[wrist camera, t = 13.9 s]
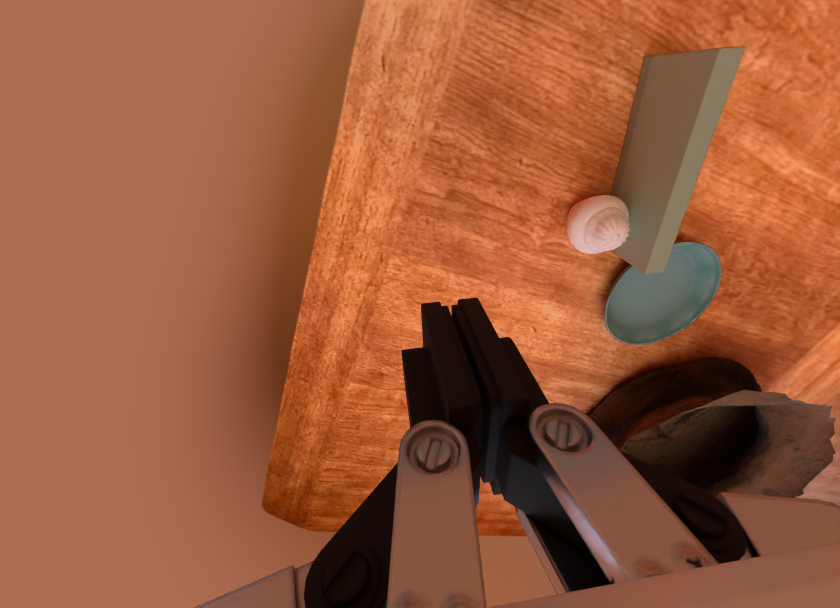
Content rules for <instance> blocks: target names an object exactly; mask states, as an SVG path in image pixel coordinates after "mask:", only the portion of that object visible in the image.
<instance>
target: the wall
mask: <svg viewBox="0 0 840 608" xmlns="http://www.w3.org/2000/svg"><path fill="white" fill-rule="evenodd" d="M744 49H745V47H725V48H714V49H706V50H697V51H689V52H680V53H672V54H664V55H655V56H647V57H644V61H643V65H642V69H641V73H640V78H639V82H638V86H637V90H636V94H635V98H634V102H633V106H632V111H631V115H630V119H629V123H628V127H627V131H626V135H625V139H624V144H623V148H622V152H621V156H620V160H619V164H618V168H617V172H616V177H615V181H614V185H613V189H612V193H611V196H615V197H618V198H619V199H621V200H622V201H623V202H624V203H625V204H626V206H627V208H628V211H629V221H628V222H629V223H630V225H629V228H630V231H629V232H628V234H629V236H628V237H626V241H625V242H623V243H622V245H621V246H620V247H617V248H616V249H614V250H610V251H611V252H613V253H614V254H616V255H617V256H619V257H620V258H622V259H623V260H625V261H626V262H628V263H629V264H631V265H632V266H634V267H635V268H637V269H638V270H640V271H641V272H643V273H644V274H650V273H659V272H664V269H665V267H666V264H667V261H668V258H669V256H670V253H671V250H672V247H673V245H674V242H675V239H676V236H677V234H678V231H679V228H680V225H681V223H682V220H683V217H684V214H685V212H686V209H687V206H688V203H689V201H690V198H691V195H692V192H693V190H694V187H695V184H696V181H697V179H698V176H699V173H700V170H701V168H702V165H703V162H704V159H705V157H706V154H707V151H708V148H709V146H710V143H711V140H712V137H713V135H714V132H715V129H716V126H717V124H718V121H719V118H720V115H721V113H722V110H723V107H724V104H725V102H726V99H727V96H728V93H729V91H730V88H731V85H732V82H733V80H734V77H735V74H736V71H737V69H738V66H739V63H740V60H741V58H742V55H743V52H744Z"/></svg>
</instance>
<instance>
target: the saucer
mask: <svg viewBox="0 0 840 608" xmlns="http://www.w3.org/2000/svg"><path fill="white" fill-rule="evenodd" d="M721 270H722V269H721V264H720V260H719V258H718V255H717V254H716V253H715V251H714V250H712V249H711V248H710V247H709V246H707V245H704V244H701V243H698V242H679V243H674V245H673V247H672V250H671V253H670V256H669V258H668V261H667V264H666V267H665V269H664V272H659V273H650V274H644V273H643V272H641V271H640V270H638V269H637V268H635V267H634V266H632V265H631V264H630V265H629V266H627V267H626V268H625V269H624V270H623V271H622V273H621V274H620V275H619V276H618V277H617V279H616V280H615V282H614V283H613V285H612V287H611V289H610V291H609V293H608V296H607V299H606V303H605V313H604V316H605V324H606V327H607V329H608V331H609V333H610V334H611V335H612V336H613V337H614V338H615V339H616V340H618V341H620V342H623V343H626V344H631V345H645V344H651V343H655V342H659V341H662V340H664V339H667V338H669V337H671V336H673V335H675V334H677V333H679V332H680V331H681V330H683V329H685V328H686V327H687V326H689V325H690V324H691V323H693V322H694V321H695V320H696V319H697V318H698V317H699V316H700V315H701V314H702V313H703V312H704V310H705V309H706V308H707V307H708V305H709V304H710V303H711V301H712V299H713V297H714V296H715V294H716V292H717V290H718V286H719V283H720V280H721Z"/></svg>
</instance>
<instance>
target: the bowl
mask: <svg viewBox="0 0 840 608" xmlns="http://www.w3.org/2000/svg"><path fill="white" fill-rule="evenodd" d="M831 408H832V406H827V405H814V404H805V403H804V402H801V401H796V400H792V399H790V398H788V397H787V395H786V394H781V393H775V392H761V388H760V385H759V384H758V383H757V382H756V379H755V378H754V376H753V374H752V373H751V371H750V370H749V369H747V368H746V367H745V366H743V365H742V364H741V363H738V362H736V361H734V360H731V359H727V358H717V357H709V358H702V359H700V360H698V361H695V362H693V363H689V364H683V365H678V366H674V367H672V368H664V369H660V370H656V371H653V372H651V373H649V374H647V375H645V376H643V377H640V378H638V379H636V380H634V381H632V382H630V383H628V384H626V385H624V386H622V387H621V388H619V389H617V390H615V391H614V392H612V393H611V394H610V395H609V396H608V397H607V398H606V399H605V400H604V401H603V402H602V403H601V404H600V405H599V406H598V407H597V408H596V409H595V410H594V411H593V412H592V414H591V415H590V416H589V418H590V419H591V420H593V422H594V423H595V424H596V425H597V426H598V427H599V428H600V429H601V431H602V432H603V433H604V434H605V435H606V436H607V437H608V438H609V440H610V441H611V442H612V443H613V444H614V445H615V446H616V448H617V449H618V450H620V451H622V452H624V453H627V454H629V455H631V456H633V457H635V458H637V459H639V460H642V461H644V462H646V463H648V464H650V465H652V466H654V467H656V468H659V469H661V470H663V471H665V472H667V473H669V474H671V475H673V476H676V477H678V478H680V479H682V480H684V481H686V482H688V483H690V484H693V485H695V486H697V487H699V488H701V489H703V490H704V491H706V492H708V493H709V494H711V495H713V496H715V497H717V496H718V495H719V493H720V492H725V493H738V494H751V495H764V496H777V497H790V498H795V497H797V496H800V495H802V494H803V489H804V488H805V487H806V485H807V484H808V483H809V482H810V481H811V480H813V479H814V478H815V477H816V476H817V475H818V474H819V473H820V472H821V471H822V470H823V469H825V468H826V467H827V466H828V465H829V464H830V463H831V462H832V461H833V454H836V452H835V450H834V448H833V446H832V444H831V441H830V438H831V437H832V436H833V435H834V421H835V418H829V416H830V412H831Z"/></svg>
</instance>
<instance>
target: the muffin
mask: <svg viewBox="0 0 840 608" xmlns="http://www.w3.org/2000/svg"><path fill="white" fill-rule="evenodd" d="M628 221H629V211H628V208H627V206H626V204H625V203H624V202H623V201H622V200H621V199H619V198H618V197H615V196H611V195H599V196H593V197H589V198H587V199H585V200H582V201H580V202H579V203H576V204H575V205H573V207H572V208H571V210H569V213H568V215H567V233H568V237H569V240H570V242H571V244H572V245H573V246H574V247H575V248H576V249H577V250H579V251H581V252H583V253H588V254H596V253H601V252H604V251H607V250H614V249H616V248H617V247H620V246H621V245H622V243H623V242H625V241H626V237H628V236H629V234H628V232H629V231H630V228H629V225H630V223H629V222H628Z"/></svg>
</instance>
